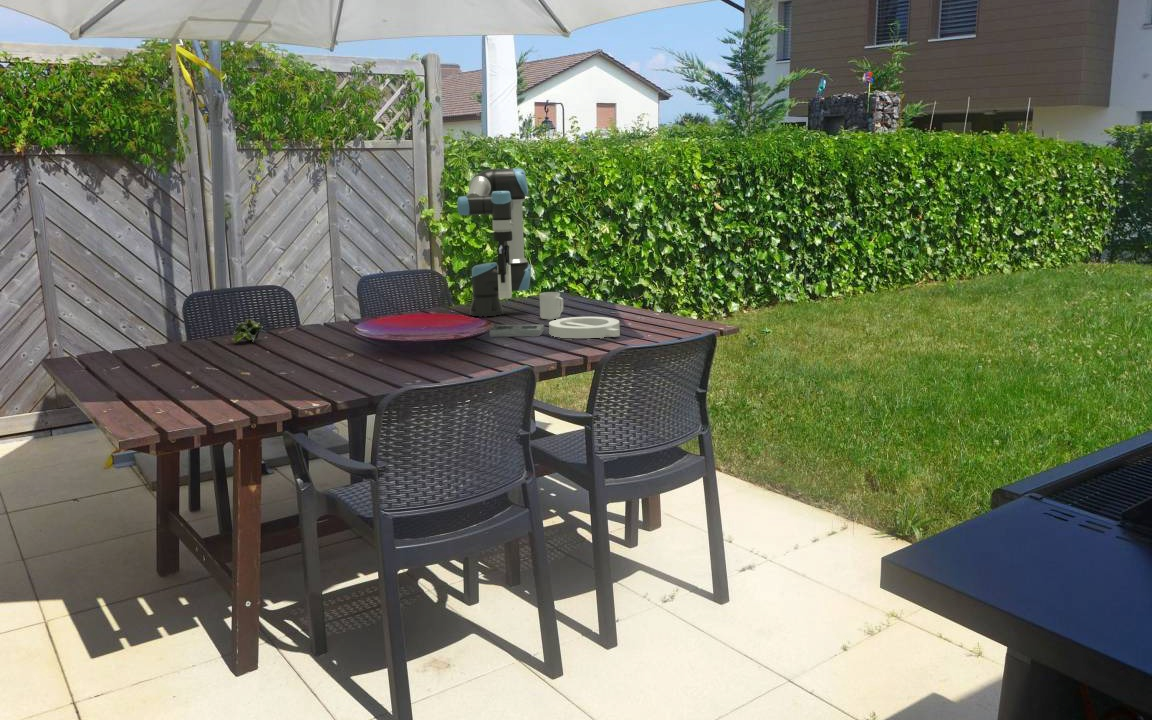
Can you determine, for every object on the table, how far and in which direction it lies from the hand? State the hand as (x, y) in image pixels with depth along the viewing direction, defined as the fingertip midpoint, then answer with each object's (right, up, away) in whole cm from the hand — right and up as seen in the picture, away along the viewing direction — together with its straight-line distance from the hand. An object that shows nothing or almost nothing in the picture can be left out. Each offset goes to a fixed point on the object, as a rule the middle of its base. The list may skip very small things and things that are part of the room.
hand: (505, 289), depth 372 cm
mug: (+18, -10, +36) cm, 42 cm away
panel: (+5, -17, +3) cm, 18 cm away
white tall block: (0, -3, +1) cm, 3 cm away
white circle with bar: (+32, -18, +1) cm, 36 cm away
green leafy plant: (-101, -21, 0) cm, 103 cm away
